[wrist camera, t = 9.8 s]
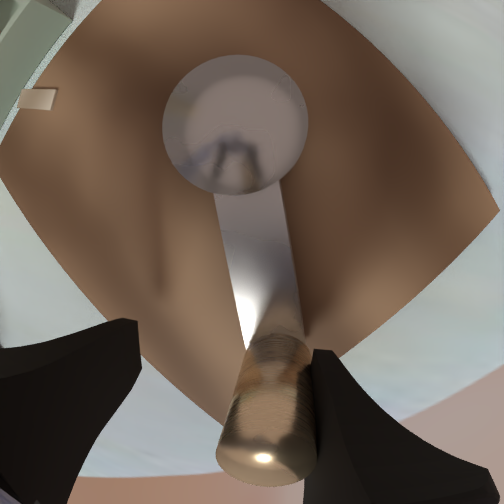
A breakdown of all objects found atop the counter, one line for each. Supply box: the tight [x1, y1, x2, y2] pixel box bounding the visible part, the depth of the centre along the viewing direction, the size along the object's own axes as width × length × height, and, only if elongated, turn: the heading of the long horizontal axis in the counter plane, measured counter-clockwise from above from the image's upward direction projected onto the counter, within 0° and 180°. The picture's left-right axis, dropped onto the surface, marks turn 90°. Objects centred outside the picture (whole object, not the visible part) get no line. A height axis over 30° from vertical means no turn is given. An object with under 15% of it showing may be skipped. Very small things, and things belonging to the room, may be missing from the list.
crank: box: [162, 55, 317, 487], centre depth 8 cm, size 11×4×6 cm, turn 10°
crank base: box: [0, 0, 500, 426], centre depth 11 cm, size 16×20×1 cm
